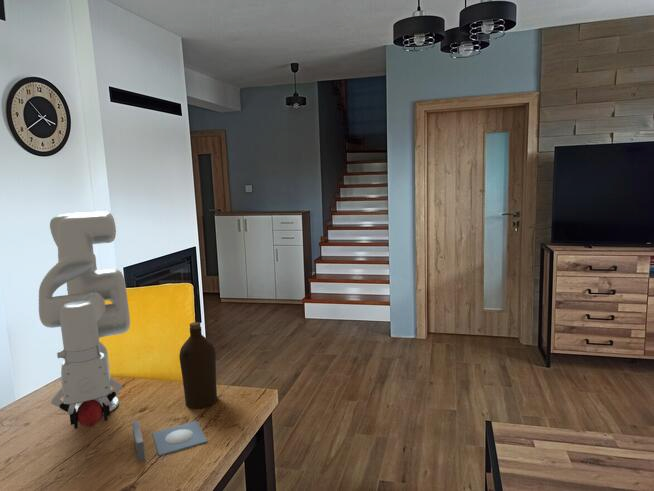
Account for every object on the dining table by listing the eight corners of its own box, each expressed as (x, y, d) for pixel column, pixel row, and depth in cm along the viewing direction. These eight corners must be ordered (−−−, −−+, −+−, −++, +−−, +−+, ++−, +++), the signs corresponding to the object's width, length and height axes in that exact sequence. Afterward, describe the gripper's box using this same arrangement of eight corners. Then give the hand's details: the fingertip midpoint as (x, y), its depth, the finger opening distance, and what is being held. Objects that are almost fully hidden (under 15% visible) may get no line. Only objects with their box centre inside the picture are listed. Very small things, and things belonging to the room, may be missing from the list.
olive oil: (216, 408, 139) (210, 327, 136) (180, 411, 138) (172, 330, 135) (221, 392, 150) (215, 317, 146) (187, 395, 149) (180, 319, 145)
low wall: (133, 439, 124) (131, 421, 123) (139, 437, 125) (137, 420, 124) (138, 462, 114) (136, 443, 113) (145, 460, 114) (143, 441, 113)
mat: (152, 434, 126) (152, 432, 126) (197, 421, 132) (197, 420, 132) (159, 456, 116) (158, 454, 116) (207, 442, 121) (207, 440, 121)
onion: (93, 434, 111) (90, 403, 109) (72, 432, 112) (68, 401, 111) (109, 421, 116) (106, 391, 115) (89, 419, 118) (85, 390, 116)
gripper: (39, 366, 104) (49, 440, 107) (123, 350, 111) (130, 419, 115) (41, 354, 110) (51, 424, 113) (120, 340, 118) (127, 406, 121)
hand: (91, 421), depth 114 cm, fingers closed on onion, 5 cm apart
